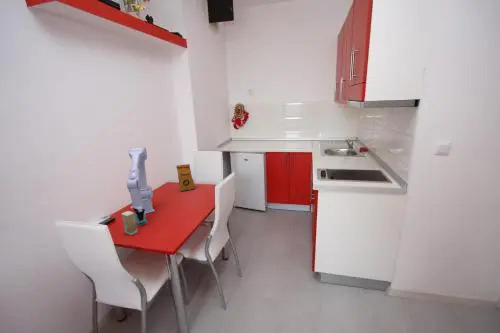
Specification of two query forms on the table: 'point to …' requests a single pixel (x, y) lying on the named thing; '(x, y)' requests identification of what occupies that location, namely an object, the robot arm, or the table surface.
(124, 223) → the skincare box
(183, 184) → the coffee package
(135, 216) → the teal block
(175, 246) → the table surface
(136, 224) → the mat
